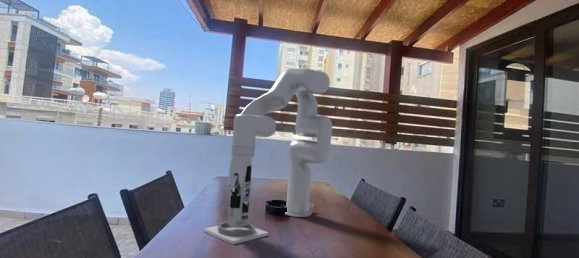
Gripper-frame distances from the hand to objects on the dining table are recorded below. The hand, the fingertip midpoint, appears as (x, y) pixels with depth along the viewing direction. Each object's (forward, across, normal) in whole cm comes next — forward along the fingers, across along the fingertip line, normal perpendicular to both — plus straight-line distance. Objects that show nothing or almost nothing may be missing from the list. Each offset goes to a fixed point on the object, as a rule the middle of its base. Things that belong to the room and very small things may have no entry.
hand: (238, 204), depth 115 cm
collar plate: (+9, 0, 0) cm, 9 cm away
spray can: (+7, 0, 0) cm, 7 cm away
